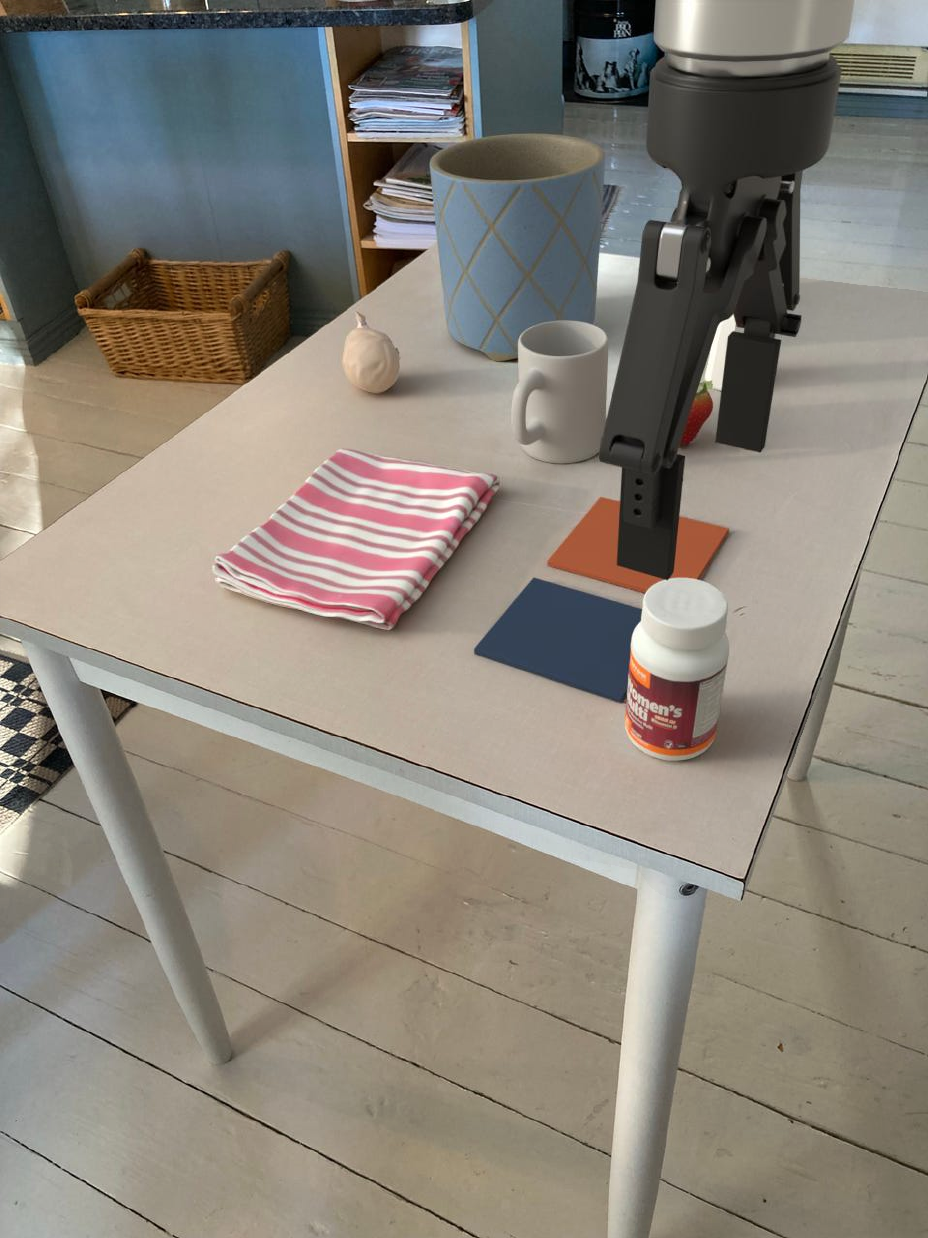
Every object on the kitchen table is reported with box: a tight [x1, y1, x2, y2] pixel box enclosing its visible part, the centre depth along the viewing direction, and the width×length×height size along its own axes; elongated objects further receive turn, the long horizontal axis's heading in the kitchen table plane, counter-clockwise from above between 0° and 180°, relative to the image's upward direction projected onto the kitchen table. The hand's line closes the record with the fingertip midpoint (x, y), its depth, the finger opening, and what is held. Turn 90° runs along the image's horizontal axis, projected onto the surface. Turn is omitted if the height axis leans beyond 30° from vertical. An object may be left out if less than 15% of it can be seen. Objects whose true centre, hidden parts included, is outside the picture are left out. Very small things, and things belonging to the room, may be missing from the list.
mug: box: [510, 321, 610, 465], centre depth 95 cm, size 12×8×11 cm
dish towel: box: [211, 448, 500, 631], centre depth 87 cm, size 17×23×4 cm
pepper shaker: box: [704, 315, 744, 392], centre depth 104 cm, size 5×5×11 cm
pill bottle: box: [624, 578, 730, 762], centre depth 64 cm, size 6×6×11 cm
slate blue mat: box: [473, 577, 642, 704], centre depth 76 cm, size 12×10×1 cm
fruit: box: [680, 381, 714, 446], centre depth 95 cm, size 5×5×8 cm
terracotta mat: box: [546, 496, 730, 594], centre depth 84 cm, size 12×11×1 cm
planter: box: [429, 133, 606, 362], centre depth 114 cm, size 19×19×20 cm
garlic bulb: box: [341, 310, 401, 394], centre depth 108 cm, size 7×6×8 cm
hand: (696, 502), depth 53 cm, fingers open, 13 cm apart
